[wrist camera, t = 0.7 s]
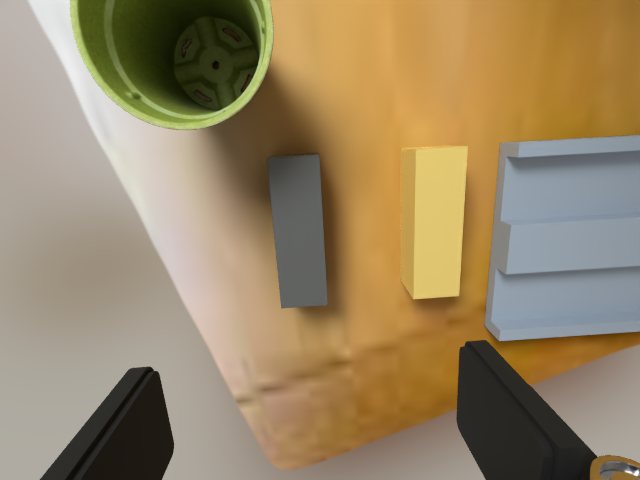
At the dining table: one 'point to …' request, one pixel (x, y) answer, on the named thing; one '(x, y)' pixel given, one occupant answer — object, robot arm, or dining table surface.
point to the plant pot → (175, 55)
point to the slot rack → (566, 239)
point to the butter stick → (432, 219)
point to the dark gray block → (298, 229)
